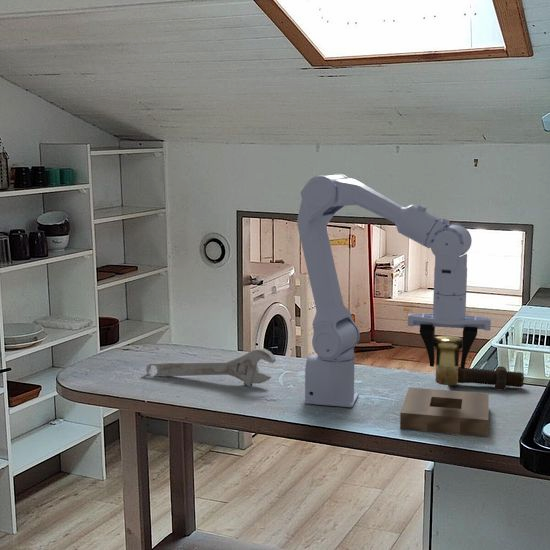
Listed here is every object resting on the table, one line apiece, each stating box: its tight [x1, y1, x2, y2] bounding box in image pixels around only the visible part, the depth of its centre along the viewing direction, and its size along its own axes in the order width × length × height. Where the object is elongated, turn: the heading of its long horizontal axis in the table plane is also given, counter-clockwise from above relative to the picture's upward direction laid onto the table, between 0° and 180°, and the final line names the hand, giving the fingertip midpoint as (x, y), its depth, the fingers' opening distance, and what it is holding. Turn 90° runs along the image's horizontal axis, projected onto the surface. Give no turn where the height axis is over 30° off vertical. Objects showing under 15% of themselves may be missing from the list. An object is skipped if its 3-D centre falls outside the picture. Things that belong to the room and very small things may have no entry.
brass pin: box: [434, 334, 463, 386], centre depth 144 cm, size 5×5×8 cm
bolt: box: [447, 365, 525, 391], centre depth 164 cm, size 6×5×15 cm
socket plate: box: [399, 386, 490, 437], centre depth 145 cm, size 15×15×3 cm
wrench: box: [145, 347, 276, 387], centre depth 168 cm, size 8×2×30 cm
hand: (447, 366), depth 144 cm, fingers closed on brass pin, 5 cm apart
